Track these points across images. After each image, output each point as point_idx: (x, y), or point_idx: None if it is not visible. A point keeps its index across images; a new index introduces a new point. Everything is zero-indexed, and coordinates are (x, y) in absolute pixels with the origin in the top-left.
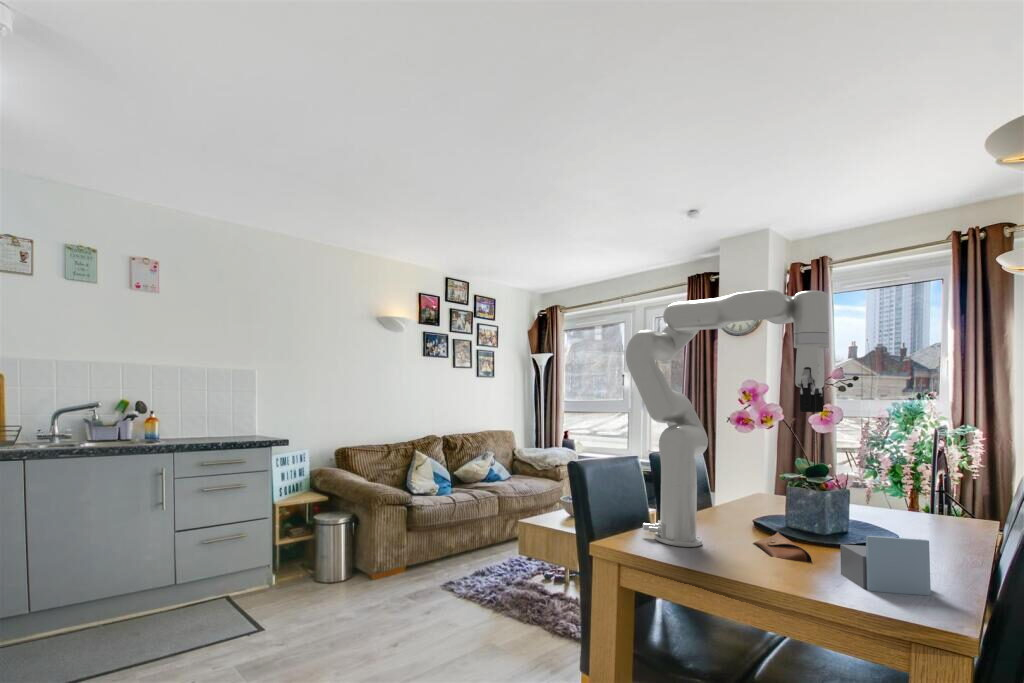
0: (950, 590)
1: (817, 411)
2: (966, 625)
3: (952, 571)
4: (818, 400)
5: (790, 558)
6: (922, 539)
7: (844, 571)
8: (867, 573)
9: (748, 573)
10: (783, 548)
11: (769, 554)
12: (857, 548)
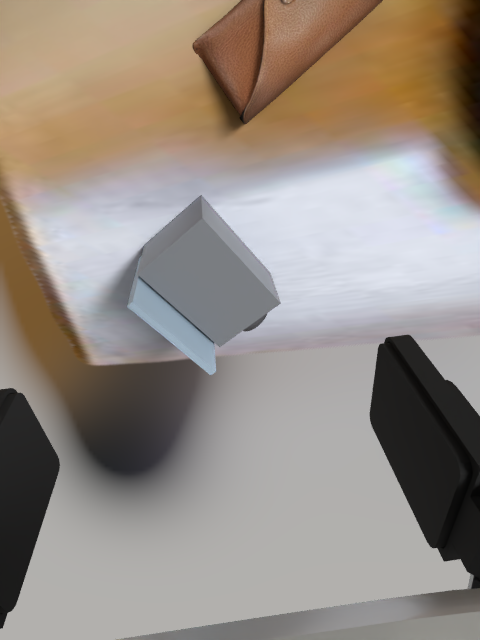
0: (287, 324)
1: (373, 394)
2: (131, 357)
3: (415, 310)
4: (417, 489)
5: (217, 77)
6: (211, 367)
7: (190, 210)
8: (138, 267)
9: (23, 26)
10: (254, 43)
11: (238, 3)
12: (197, 251)
